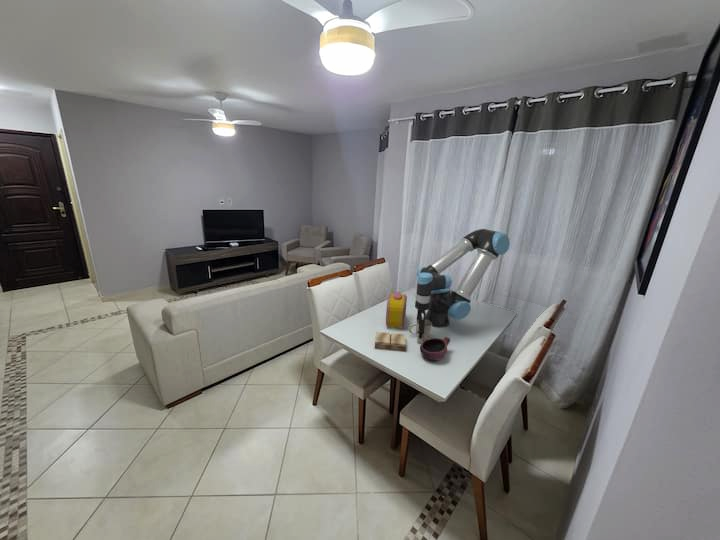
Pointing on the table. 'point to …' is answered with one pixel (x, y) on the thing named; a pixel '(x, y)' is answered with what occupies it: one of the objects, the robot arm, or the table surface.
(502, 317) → the table surface
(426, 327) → the mug
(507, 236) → the robot arm
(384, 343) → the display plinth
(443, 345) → the bowl
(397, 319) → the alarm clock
